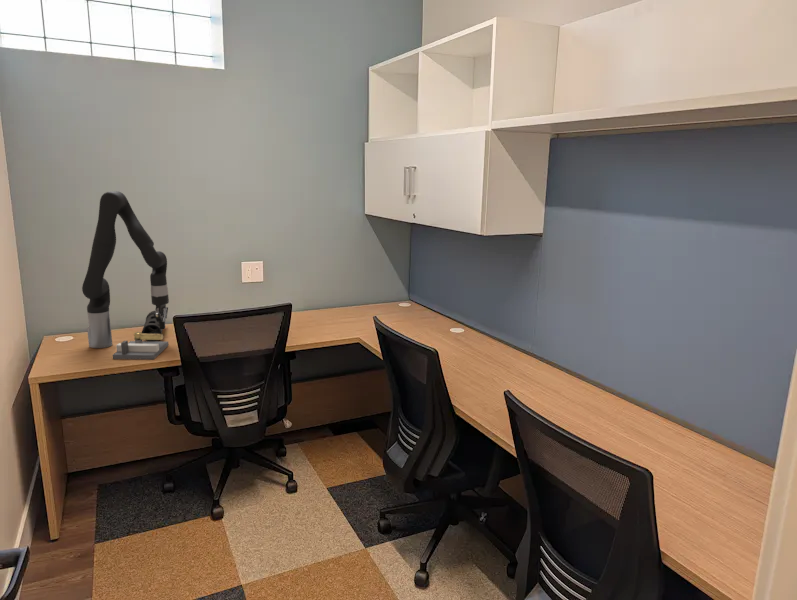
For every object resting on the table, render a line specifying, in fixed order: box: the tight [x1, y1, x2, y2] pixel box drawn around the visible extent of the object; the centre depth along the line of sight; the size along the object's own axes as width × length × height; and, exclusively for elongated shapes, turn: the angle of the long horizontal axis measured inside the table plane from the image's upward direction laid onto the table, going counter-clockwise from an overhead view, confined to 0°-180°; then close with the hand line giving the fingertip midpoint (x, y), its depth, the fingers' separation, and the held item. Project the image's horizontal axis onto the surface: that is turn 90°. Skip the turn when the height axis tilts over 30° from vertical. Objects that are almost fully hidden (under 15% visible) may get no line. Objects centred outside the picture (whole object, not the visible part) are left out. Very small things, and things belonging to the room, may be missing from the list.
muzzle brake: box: [141, 310, 166, 341], centre depth 288 cm, size 10×28×10 cm, turn 18°
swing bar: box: [133, 331, 164, 341], centre depth 266 cm, size 13×3×3 cm, turn 93°
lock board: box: [112, 340, 170, 360], centre depth 264 cm, size 18×20×8 cm
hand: (162, 328), depth 271 cm, fingers closed
